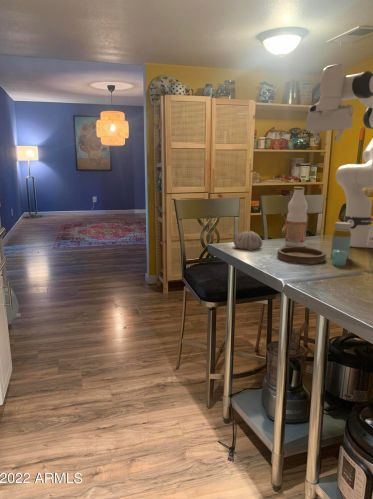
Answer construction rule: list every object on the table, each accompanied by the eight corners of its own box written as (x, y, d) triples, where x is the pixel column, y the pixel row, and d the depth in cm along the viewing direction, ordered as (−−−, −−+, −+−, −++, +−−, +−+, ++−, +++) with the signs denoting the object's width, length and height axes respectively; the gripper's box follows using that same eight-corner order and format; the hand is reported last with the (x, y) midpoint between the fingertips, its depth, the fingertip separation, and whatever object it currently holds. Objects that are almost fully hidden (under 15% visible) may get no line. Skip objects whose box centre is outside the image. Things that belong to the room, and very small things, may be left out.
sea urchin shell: (264, 251, 172) (265, 233, 170) (234, 250, 173) (235, 233, 171) (260, 245, 185) (261, 229, 183) (232, 244, 186) (233, 228, 184)
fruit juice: (292, 248, 179) (296, 187, 173) (281, 244, 188) (285, 186, 182) (309, 246, 182) (314, 187, 176) (297, 243, 191) (301, 186, 185)
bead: (336, 262, 154) (337, 248, 153) (348, 265, 150) (349, 251, 149) (328, 264, 151) (330, 250, 150) (340, 266, 147) (342, 252, 146)
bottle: (347, 260, 156) (351, 224, 153) (329, 258, 160) (332, 223, 156) (349, 257, 162) (353, 222, 159) (331, 255, 166) (335, 221, 162)
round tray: (296, 251, 173) (297, 245, 172) (334, 259, 158) (334, 253, 157) (268, 256, 162) (268, 250, 161) (305, 266, 147) (306, 259, 146)
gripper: (357, 104, 151) (354, 140, 154) (313, 110, 167) (311, 142, 170) (349, 103, 148) (345, 140, 151) (304, 108, 164) (302, 142, 167)
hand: (326, 141), depth 161 cm, fingers open, 8 cm apart
